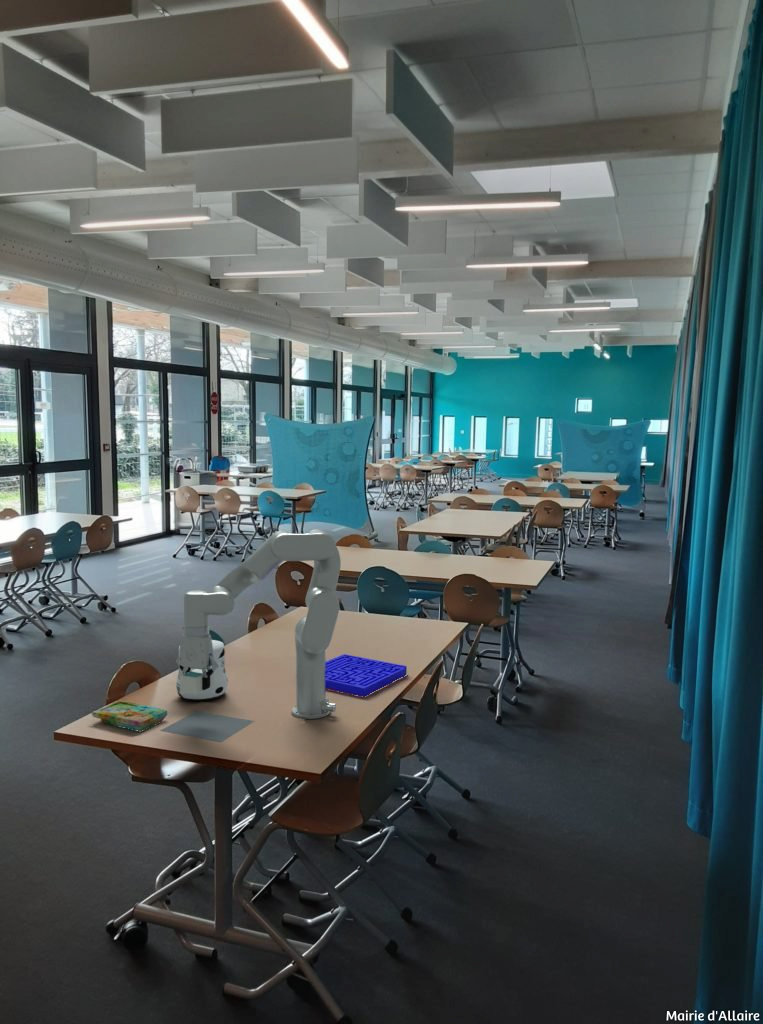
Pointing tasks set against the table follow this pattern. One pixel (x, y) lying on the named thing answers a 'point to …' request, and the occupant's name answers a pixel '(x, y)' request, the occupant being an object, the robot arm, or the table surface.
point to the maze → (360, 674)
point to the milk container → (219, 677)
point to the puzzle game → (130, 715)
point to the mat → (207, 726)
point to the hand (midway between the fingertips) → (197, 686)
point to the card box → (193, 681)
